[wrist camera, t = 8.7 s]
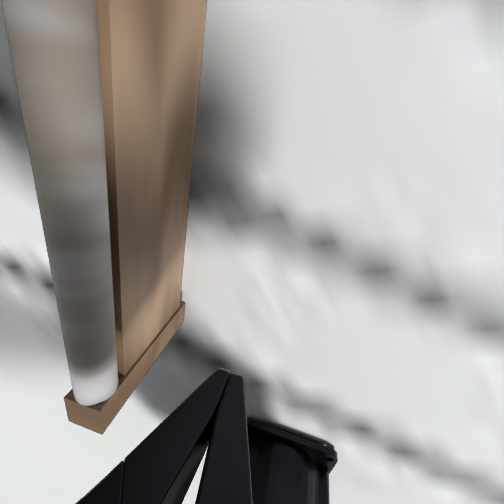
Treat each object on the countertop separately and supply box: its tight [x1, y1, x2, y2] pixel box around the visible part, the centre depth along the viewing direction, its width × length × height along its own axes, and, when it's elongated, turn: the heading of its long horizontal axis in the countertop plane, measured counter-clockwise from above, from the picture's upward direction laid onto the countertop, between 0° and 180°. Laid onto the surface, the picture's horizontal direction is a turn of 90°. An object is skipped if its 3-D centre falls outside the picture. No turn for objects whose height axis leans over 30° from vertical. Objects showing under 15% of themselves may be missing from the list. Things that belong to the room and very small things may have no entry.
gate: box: [1, 0, 207, 434], centre depth 9 cm, size 15×1×6 cm, turn 169°
